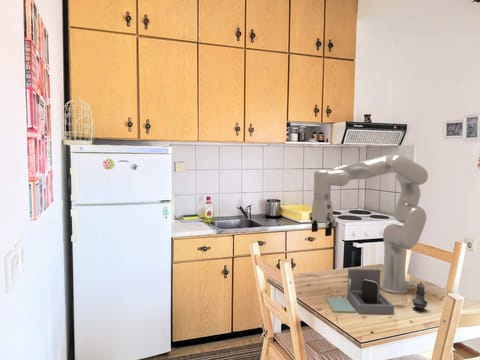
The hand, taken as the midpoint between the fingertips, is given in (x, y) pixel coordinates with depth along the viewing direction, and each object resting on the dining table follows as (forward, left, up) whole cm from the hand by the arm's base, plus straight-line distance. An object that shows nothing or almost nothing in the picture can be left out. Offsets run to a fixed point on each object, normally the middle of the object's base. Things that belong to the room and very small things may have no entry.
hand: (321, 233), depth 163 cm
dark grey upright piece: (-38, +17, -28) cm, 50 cm away
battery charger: (-18, +14, -28) cm, 36 cm away
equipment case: (-18, +14, -28) cm, 36 cm away
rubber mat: (-6, +14, -28) cm, 32 cm away
